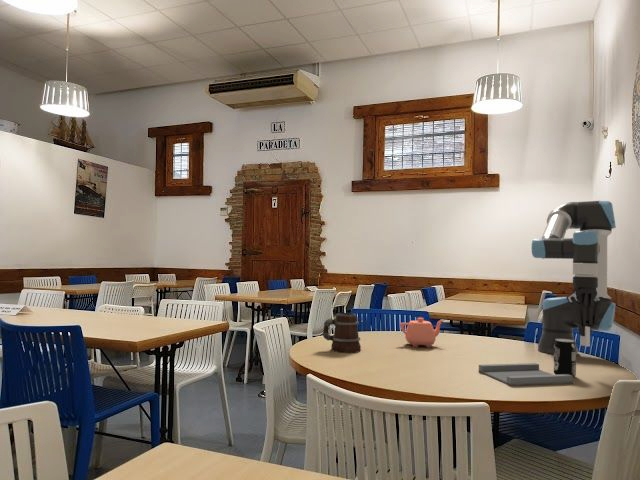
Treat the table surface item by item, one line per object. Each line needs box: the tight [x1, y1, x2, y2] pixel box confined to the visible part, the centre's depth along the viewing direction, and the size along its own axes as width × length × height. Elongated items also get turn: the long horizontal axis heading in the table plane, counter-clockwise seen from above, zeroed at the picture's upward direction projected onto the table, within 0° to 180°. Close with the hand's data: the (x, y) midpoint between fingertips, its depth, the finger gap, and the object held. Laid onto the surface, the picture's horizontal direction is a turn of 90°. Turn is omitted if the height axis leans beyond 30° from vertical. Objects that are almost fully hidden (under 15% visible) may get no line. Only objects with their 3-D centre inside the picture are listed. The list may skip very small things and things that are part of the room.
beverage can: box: [553, 339, 577, 378], centre depth 160 cm, size 7×7×12 cm
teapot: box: [399, 317, 445, 348], centre depth 211 cm, size 13×20×12 cm, turn 93°
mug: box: [321, 312, 362, 354], centre depth 196 cm, size 16×12×15 cm
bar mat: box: [478, 362, 574, 387], centre depth 156 cm, size 22×18×2 cm
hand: (585, 345), depth 161 cm, fingers closed
